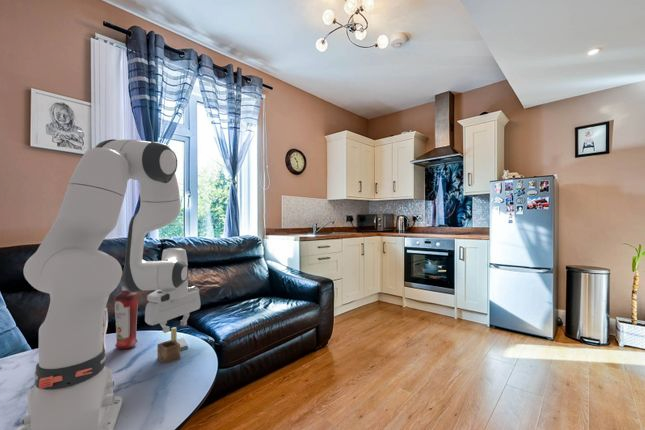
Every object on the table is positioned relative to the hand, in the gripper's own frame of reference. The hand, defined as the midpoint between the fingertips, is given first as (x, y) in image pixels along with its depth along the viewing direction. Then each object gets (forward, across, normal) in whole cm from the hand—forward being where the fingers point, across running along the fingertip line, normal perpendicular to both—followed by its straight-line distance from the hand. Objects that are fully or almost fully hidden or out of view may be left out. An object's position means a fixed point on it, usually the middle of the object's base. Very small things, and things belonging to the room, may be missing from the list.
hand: (175, 328), depth 106 cm
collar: (+7, +7, +6) cm, 11 cm away
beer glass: (+7, +16, -22) cm, 28 cm away
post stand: (+7, 0, 0) cm, 7 cm away
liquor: (+7, +8, -16) cm, 19 cm away
